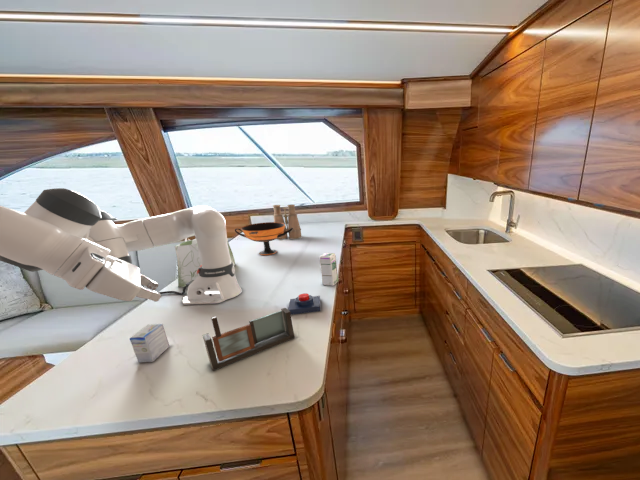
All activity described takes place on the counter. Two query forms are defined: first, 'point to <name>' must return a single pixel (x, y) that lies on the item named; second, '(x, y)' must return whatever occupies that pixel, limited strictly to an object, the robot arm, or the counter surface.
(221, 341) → the sash
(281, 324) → the window frame
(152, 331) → the medicine box
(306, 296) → the button
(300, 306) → the button box
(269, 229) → the cup
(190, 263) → the grocery bag
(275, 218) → the binoculars
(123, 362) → the counter surface
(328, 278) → the syrup box
